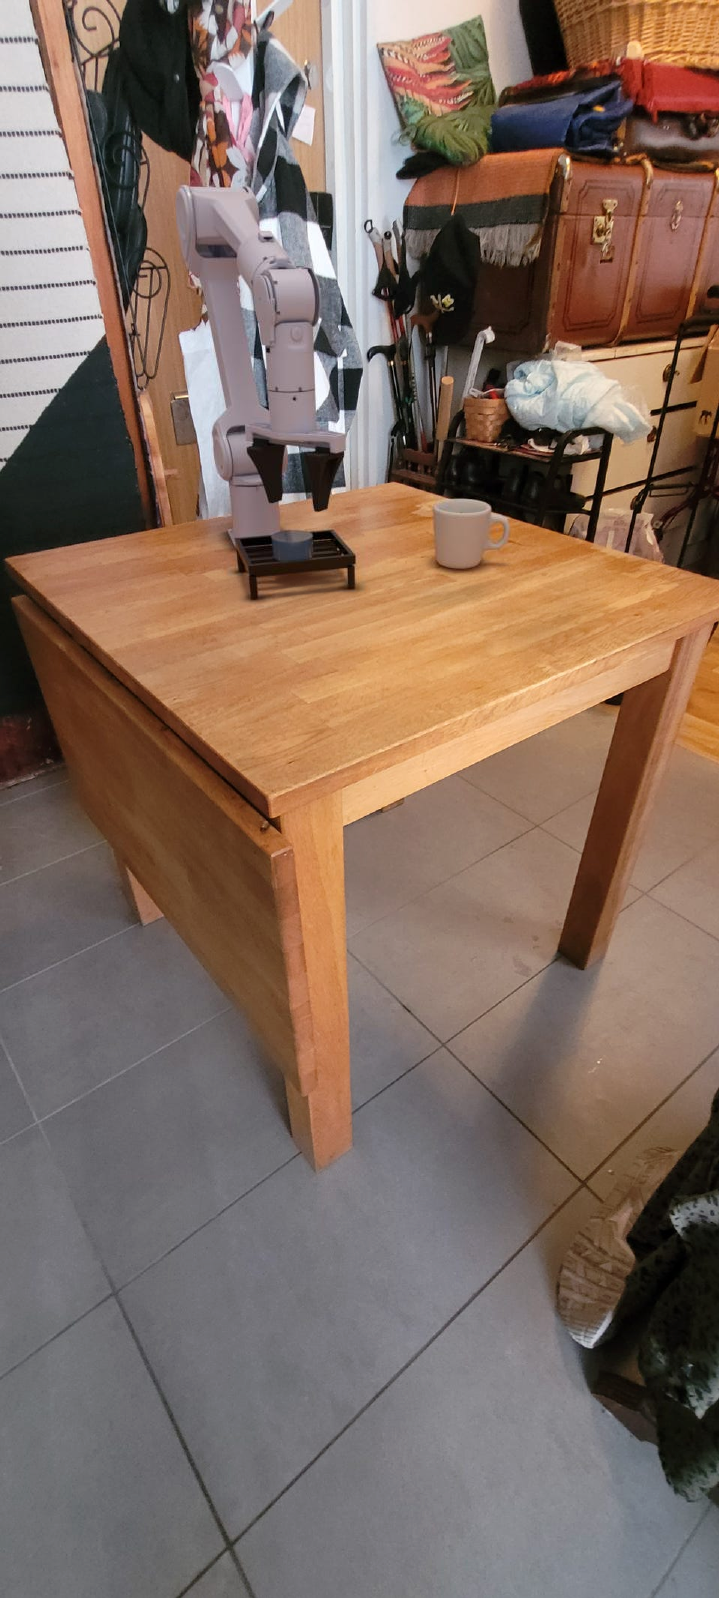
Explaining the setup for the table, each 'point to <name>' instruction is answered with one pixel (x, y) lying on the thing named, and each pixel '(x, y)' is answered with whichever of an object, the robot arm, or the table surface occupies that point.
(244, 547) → the rack
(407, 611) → the table surface
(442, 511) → the cup
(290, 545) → the glossy blue puck
